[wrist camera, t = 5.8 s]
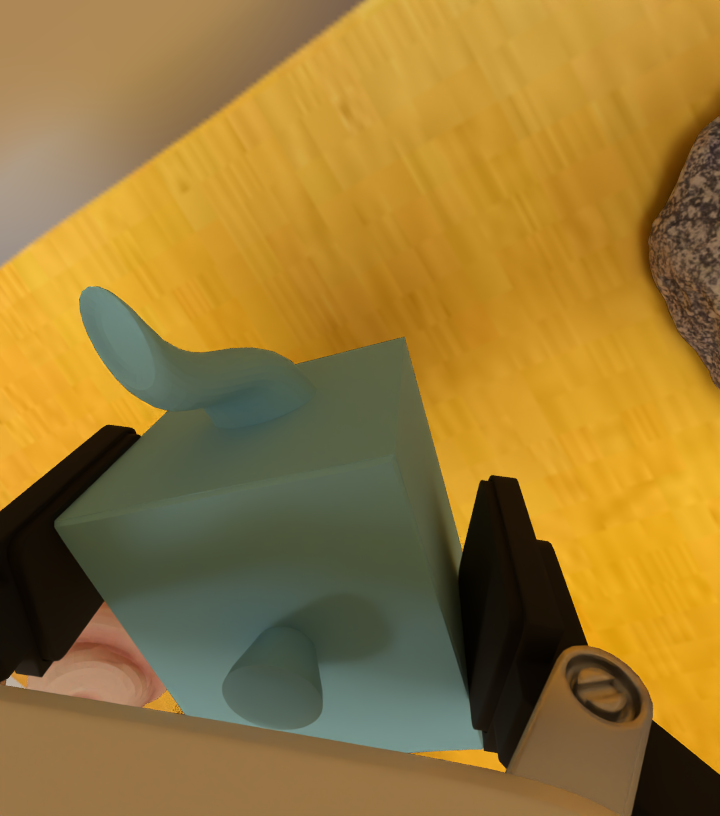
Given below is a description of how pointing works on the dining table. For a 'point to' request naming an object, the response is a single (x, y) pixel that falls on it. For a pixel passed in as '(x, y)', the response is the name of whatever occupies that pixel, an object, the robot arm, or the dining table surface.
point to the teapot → (281, 539)
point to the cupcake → (102, 667)
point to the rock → (693, 249)
